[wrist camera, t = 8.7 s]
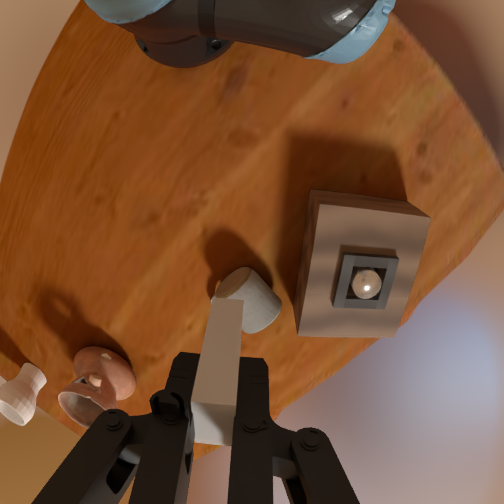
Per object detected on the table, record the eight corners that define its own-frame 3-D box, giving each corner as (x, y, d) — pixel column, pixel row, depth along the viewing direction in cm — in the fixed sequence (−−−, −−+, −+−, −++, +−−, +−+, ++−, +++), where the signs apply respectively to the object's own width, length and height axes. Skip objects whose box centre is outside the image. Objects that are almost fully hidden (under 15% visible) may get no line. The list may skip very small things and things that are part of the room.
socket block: (309, 189, 46) (321, 206, 38) (407, 201, 46) (434, 220, 38) (292, 306, 54) (298, 340, 46) (379, 309, 54) (396, 341, 46)
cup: (54, 392, 68) (32, 432, 54) (25, 380, 67) (1, 417, 54) (45, 365, 64) (19, 407, 50) (14, 353, 63) (-14, 391, 49)
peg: (342, 246, 48) (357, 272, 40) (366, 248, 48) (384, 273, 40) (337, 269, 50) (350, 298, 42) (361, 271, 50) (377, 299, 42)
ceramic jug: (84, 324, 57) (52, 371, 44) (148, 356, 59) (127, 410, 47) (76, 373, 64) (52, 417, 51) (130, 400, 66) (112, 447, 54)
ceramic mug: (249, 255, 50) (247, 280, 43) (281, 291, 53) (284, 319, 46) (200, 291, 53) (192, 318, 46) (233, 323, 56) (229, 352, 49)
